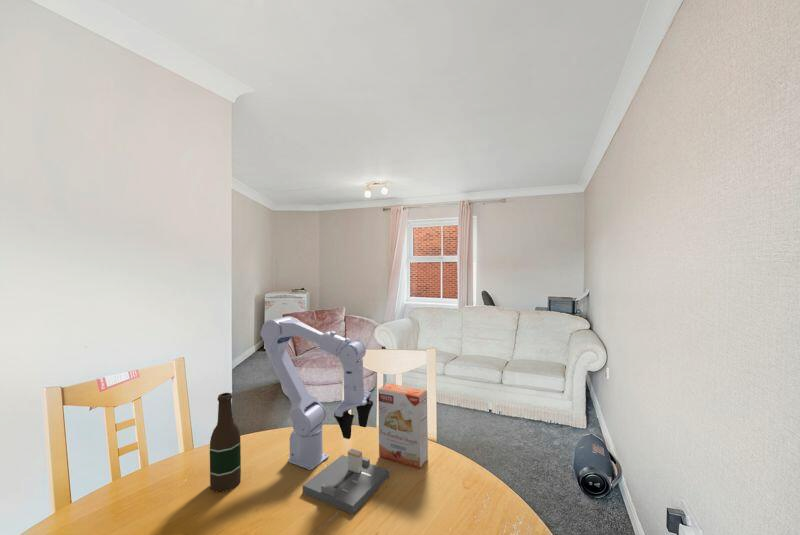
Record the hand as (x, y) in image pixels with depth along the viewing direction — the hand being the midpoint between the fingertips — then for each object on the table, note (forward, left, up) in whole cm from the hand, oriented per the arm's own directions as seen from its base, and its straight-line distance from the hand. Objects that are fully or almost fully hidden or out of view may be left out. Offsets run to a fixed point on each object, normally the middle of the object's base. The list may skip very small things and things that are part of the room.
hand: (355, 432), depth 98 cm
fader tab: (+3, -4, -8) cm, 9 cm away
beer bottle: (-26, -22, -11) cm, 36 cm away
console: (+3, -7, -10) cm, 13 cm away
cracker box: (+10, +11, -11) cm, 18 cm away
